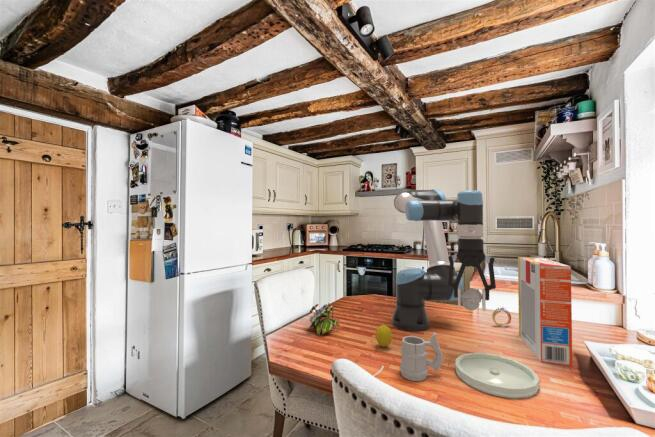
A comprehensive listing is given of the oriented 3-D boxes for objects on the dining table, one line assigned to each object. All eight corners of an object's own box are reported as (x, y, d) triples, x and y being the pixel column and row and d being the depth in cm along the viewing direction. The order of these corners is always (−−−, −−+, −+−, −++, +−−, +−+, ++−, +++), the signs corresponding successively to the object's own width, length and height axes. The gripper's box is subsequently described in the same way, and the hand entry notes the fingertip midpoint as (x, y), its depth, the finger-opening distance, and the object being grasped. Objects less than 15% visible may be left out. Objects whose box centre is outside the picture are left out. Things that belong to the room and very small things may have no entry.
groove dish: (455, 387, 78) (455, 378, 78) (456, 355, 96) (456, 348, 96) (547, 406, 69) (547, 396, 70) (529, 368, 88) (529, 360, 88)
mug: (397, 367, 88) (397, 327, 88) (437, 368, 88) (437, 328, 88) (402, 381, 81) (402, 337, 81) (446, 382, 80) (446, 338, 80)
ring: (509, 325, 123) (509, 306, 124) (512, 328, 120) (512, 308, 120) (491, 324, 125) (491, 305, 125) (493, 327, 122) (493, 307, 122)
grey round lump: (487, 311, 94) (487, 289, 94) (469, 313, 92) (469, 290, 92) (473, 306, 100) (472, 286, 100) (455, 308, 98) (455, 287, 98)
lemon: (382, 352, 99) (382, 328, 99) (372, 346, 104) (372, 323, 104) (395, 348, 101) (395, 325, 101) (385, 343, 106) (385, 320, 106)
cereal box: (572, 365, 89) (570, 266, 90) (540, 361, 92) (539, 265, 92) (543, 337, 111) (542, 257, 111) (518, 335, 113) (518, 257, 114)
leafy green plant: (314, 343, 121) (313, 311, 129) (343, 339, 119) (340, 306, 127) (305, 335, 111) (305, 300, 119) (337, 330, 109) (334, 296, 118)
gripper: (438, 238, 97) (438, 308, 97) (506, 238, 89) (507, 315, 89) (439, 237, 104) (440, 303, 103) (503, 238, 96) (504, 309, 95)
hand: (471, 308), depth 96 cm, fingers closed on grey round lump, 6 cm apart
